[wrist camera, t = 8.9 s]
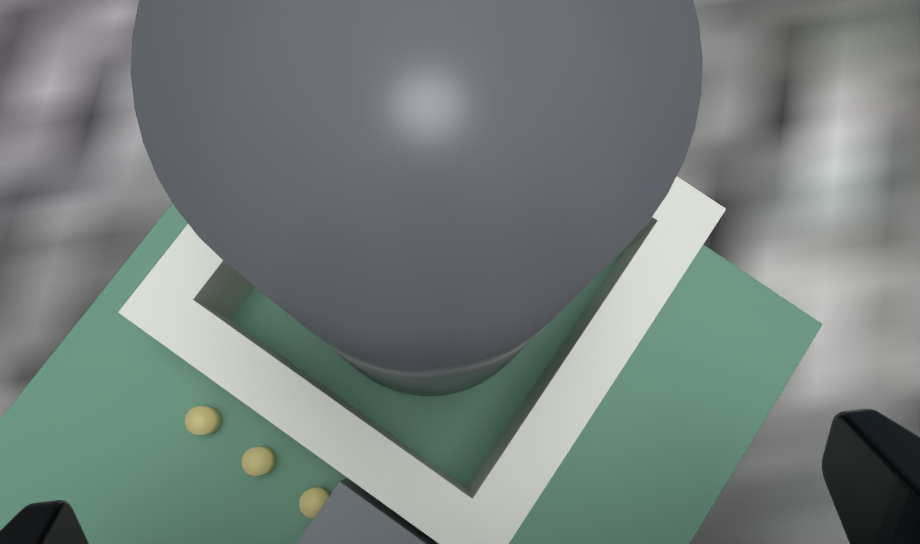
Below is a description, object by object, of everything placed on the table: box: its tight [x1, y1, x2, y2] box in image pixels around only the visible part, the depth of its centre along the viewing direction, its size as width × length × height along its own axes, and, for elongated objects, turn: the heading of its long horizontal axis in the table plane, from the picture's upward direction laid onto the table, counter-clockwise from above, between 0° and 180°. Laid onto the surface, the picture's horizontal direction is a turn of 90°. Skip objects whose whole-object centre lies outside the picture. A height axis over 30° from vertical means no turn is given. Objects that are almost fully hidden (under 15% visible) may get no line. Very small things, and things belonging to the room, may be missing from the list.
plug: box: [131, 0, 702, 396], centre depth 13 cm, size 6×5×12 cm
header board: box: [0, 176, 822, 544], centre depth 17 cm, size 16×14×4 cm
